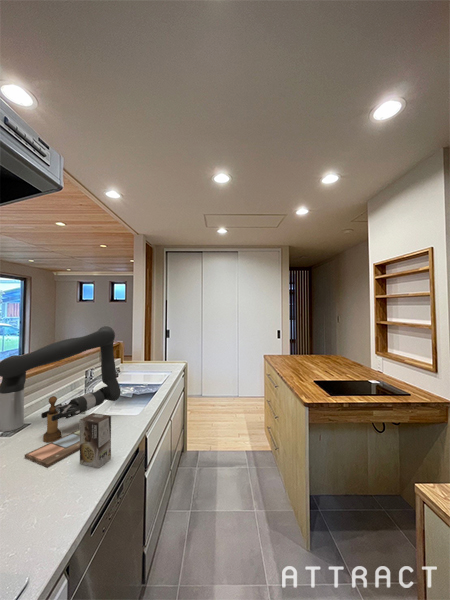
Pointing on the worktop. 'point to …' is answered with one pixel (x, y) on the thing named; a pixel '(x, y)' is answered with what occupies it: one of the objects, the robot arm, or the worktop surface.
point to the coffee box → (95, 440)
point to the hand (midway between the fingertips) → (47, 417)
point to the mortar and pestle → (52, 423)
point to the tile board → (56, 450)
